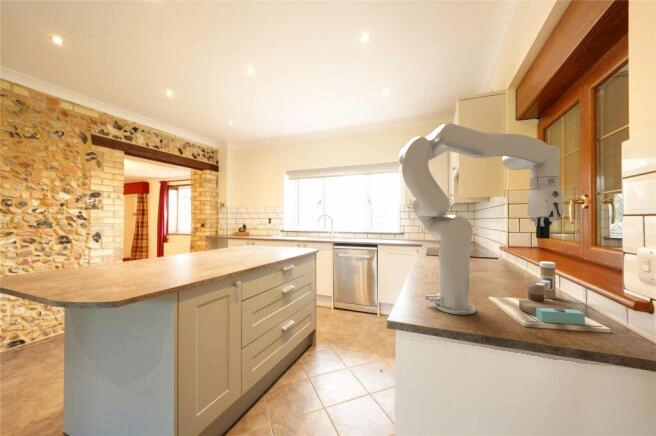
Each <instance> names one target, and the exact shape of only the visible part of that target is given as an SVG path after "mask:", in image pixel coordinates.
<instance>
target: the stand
mask: <svg viewBox="0 0 656 436" xmlns="http://www.w3.org/2000/svg"><path fill="white" fill-rule="evenodd" d="M520 299H523V297H522V298H521V297H504V296H503V297H501V296H500V297H498V296H488V300H489V301H490V302H492V303H493V304H494V305H495V306H497V307H498V308H499V309H500V310H502V311H503V312H504V313H505V314H507V315H509V317H511V318H512V319H513V320H515V321H516V322H517V323H519V324H520V325H521V326H522V327H527V328H538V329H539V328H541V329H551V330H552V329H554V330H566V331H567V330H568V331H582V332H596V333H611V332H612V331H611V328H609V327H607V325H603V324H601V323H600V322H597V321H595V320H593V319H590V318H589V317H587V316H585V325H581V324H566V323H551V322H542V321H540V320H539V319H537V318H536V315H533V314H530V313H527V312H524V311H522V310H521V309H520V308H519V300H520ZM549 300H550V301H553V299H549Z"/></svg>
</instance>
